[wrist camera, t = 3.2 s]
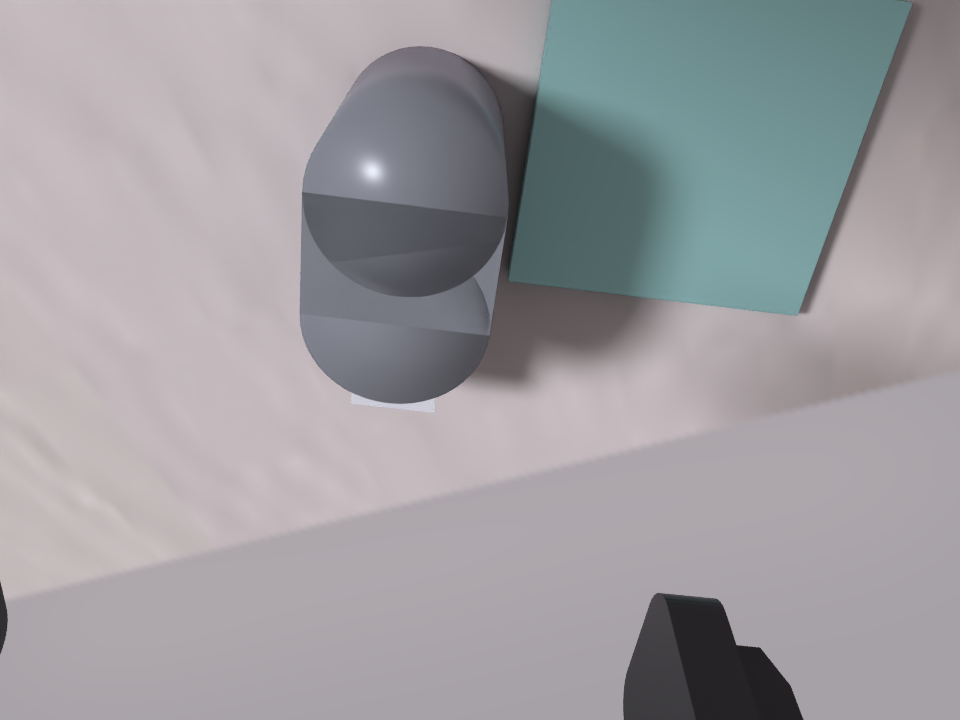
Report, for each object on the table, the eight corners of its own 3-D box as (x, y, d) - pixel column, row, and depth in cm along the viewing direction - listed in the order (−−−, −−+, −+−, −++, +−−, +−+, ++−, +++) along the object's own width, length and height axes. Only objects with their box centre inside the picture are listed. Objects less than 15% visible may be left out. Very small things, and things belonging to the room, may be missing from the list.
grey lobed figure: (346, 35, 22) (304, 86, 17) (514, 58, 22) (523, 114, 17) (333, 339, 27) (296, 452, 21) (471, 355, 27) (468, 470, 22)
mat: (560, -51, 21) (562, -49, 20) (902, -1, 21) (912, 2, 21) (507, 272, 25) (508, 281, 25) (790, 306, 26) (797, 315, 25)
